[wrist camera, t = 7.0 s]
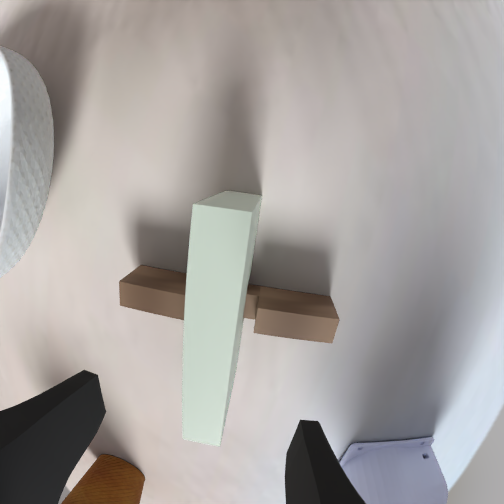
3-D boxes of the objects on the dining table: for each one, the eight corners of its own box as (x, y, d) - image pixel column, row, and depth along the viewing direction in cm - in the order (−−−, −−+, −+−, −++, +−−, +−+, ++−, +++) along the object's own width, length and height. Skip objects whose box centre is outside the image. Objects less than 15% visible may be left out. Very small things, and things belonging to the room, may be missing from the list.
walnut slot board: (330, 296, 18) (339, 319, 15) (324, 317, 18) (332, 343, 15) (141, 264, 18) (119, 281, 15) (140, 286, 18) (120, 305, 16)
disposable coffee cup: (105, 437, 24) (60, 517, 13) (172, 482, 25) (146, 562, 14) (78, 453, 26) (40, 515, 15) (135, 492, 28) (109, 555, 16)
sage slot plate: (226, 190, 16) (193, 203, 10) (262, 195, 16) (252, 212, 10) (208, 365, 20) (182, 438, 13) (236, 370, 20) (220, 446, 13)
